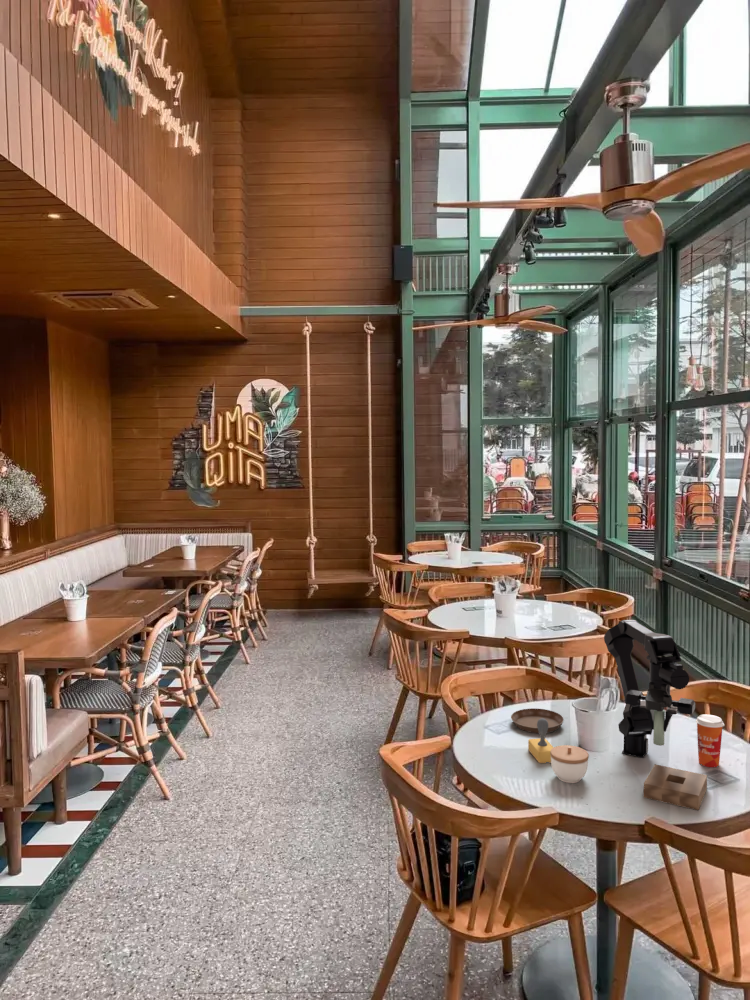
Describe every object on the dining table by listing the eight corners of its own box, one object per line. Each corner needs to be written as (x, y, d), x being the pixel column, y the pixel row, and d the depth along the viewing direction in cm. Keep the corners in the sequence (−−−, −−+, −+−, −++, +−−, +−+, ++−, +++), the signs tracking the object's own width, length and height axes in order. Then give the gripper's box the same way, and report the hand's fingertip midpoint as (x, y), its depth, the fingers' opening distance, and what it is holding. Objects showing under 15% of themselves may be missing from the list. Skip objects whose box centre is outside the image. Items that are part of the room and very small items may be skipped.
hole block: (643, 797, 204) (643, 783, 204) (654, 777, 216) (654, 764, 216) (698, 810, 197) (698, 795, 197) (706, 789, 209) (707, 775, 208)
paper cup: (691, 764, 225) (692, 718, 224) (700, 755, 230) (701, 711, 229) (718, 771, 219) (719, 725, 218) (726, 763, 225) (728, 718, 224)
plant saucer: (524, 738, 246) (524, 729, 246) (502, 719, 263) (502, 711, 263) (573, 732, 250) (573, 724, 250) (548, 714, 267) (548, 706, 267)
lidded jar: (569, 790, 209) (570, 758, 208) (542, 776, 218) (542, 745, 217) (596, 780, 215) (596, 749, 214) (568, 767, 224) (568, 736, 223)
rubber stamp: (557, 762, 227) (557, 723, 227) (538, 763, 227) (539, 725, 226) (545, 748, 237) (545, 712, 236) (527, 750, 237) (528, 713, 236)
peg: (652, 744, 219) (652, 711, 218) (654, 740, 222) (655, 707, 221) (663, 746, 218) (663, 712, 217) (665, 742, 220) (665, 709, 219)
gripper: (620, 680, 216) (619, 733, 217) (689, 691, 206) (688, 746, 208) (629, 670, 226) (628, 720, 227) (696, 680, 216) (694, 732, 217)
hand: (659, 730), depth 219 cm, fingers closed on peg, 3 cm apart
